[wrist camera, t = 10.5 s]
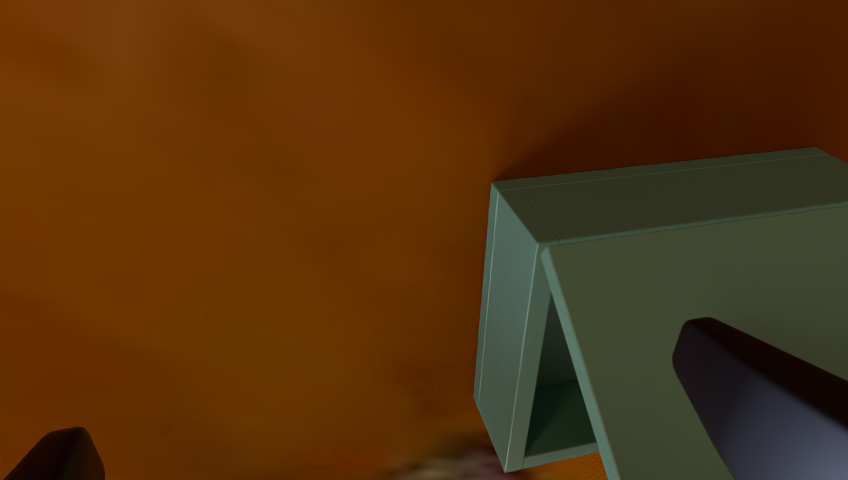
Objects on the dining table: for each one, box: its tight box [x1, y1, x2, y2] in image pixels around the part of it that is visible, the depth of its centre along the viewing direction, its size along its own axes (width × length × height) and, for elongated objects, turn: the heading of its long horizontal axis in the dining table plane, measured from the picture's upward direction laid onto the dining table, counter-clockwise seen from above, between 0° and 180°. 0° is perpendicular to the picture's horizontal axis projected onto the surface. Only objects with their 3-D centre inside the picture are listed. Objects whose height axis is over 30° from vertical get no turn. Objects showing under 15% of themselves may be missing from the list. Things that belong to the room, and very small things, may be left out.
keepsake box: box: [473, 147, 848, 473], centre depth 24 cm, size 12×15×4 cm
